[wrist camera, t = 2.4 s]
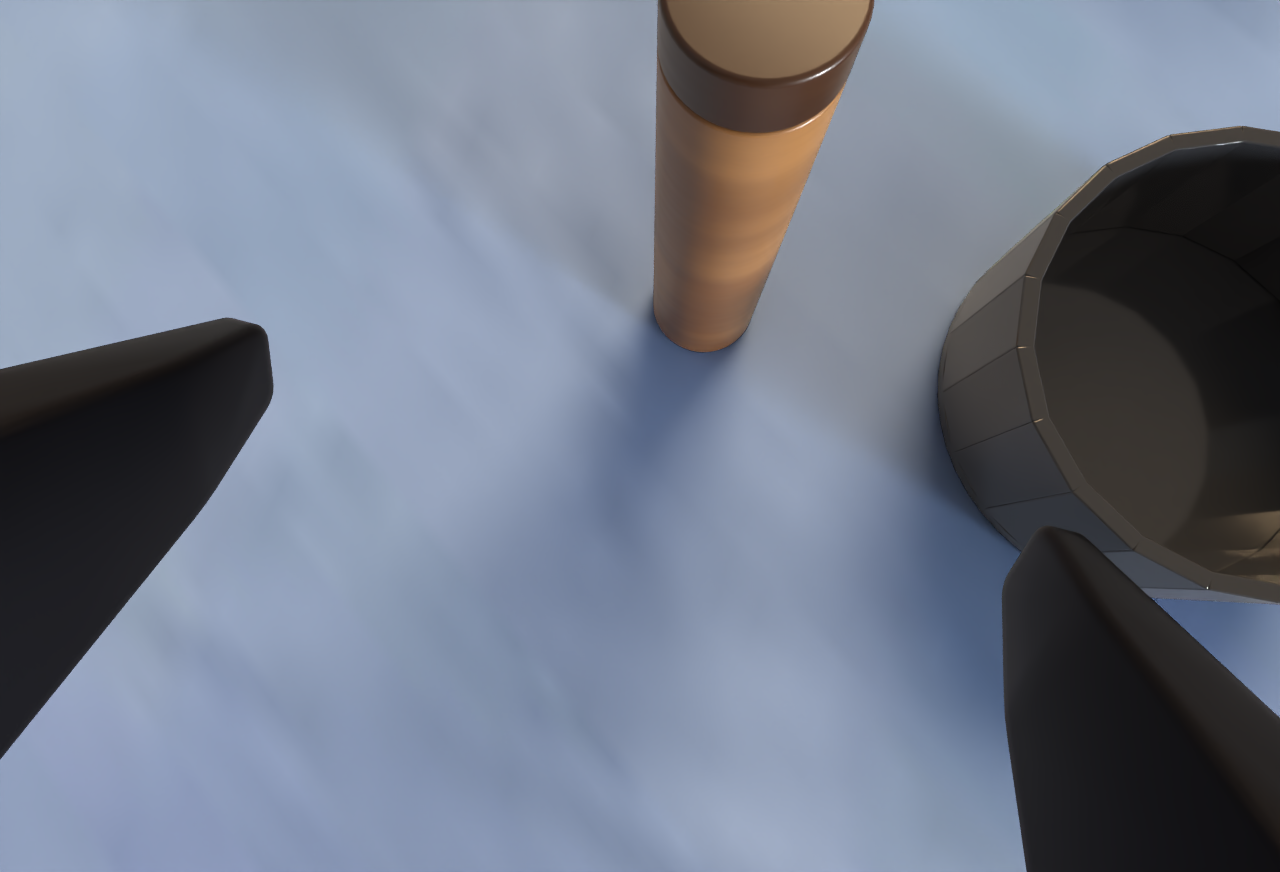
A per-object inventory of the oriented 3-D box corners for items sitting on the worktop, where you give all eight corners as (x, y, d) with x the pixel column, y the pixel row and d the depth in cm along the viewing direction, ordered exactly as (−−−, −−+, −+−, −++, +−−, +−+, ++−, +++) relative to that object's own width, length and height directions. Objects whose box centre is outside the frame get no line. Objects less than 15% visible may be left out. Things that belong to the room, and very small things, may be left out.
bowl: (1400, 409, 22) (1618, 362, 17) (1147, 679, 21) (1302, 713, 16) (1109, 153, 23) (1234, 39, 18) (858, 394, 22) (918, 343, 17)
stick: (773, 306, 23) (921, -12, 10) (701, 372, 22) (766, 128, 10) (704, 238, 23) (767, -149, 11) (632, 302, 23) (612, -19, 10)
